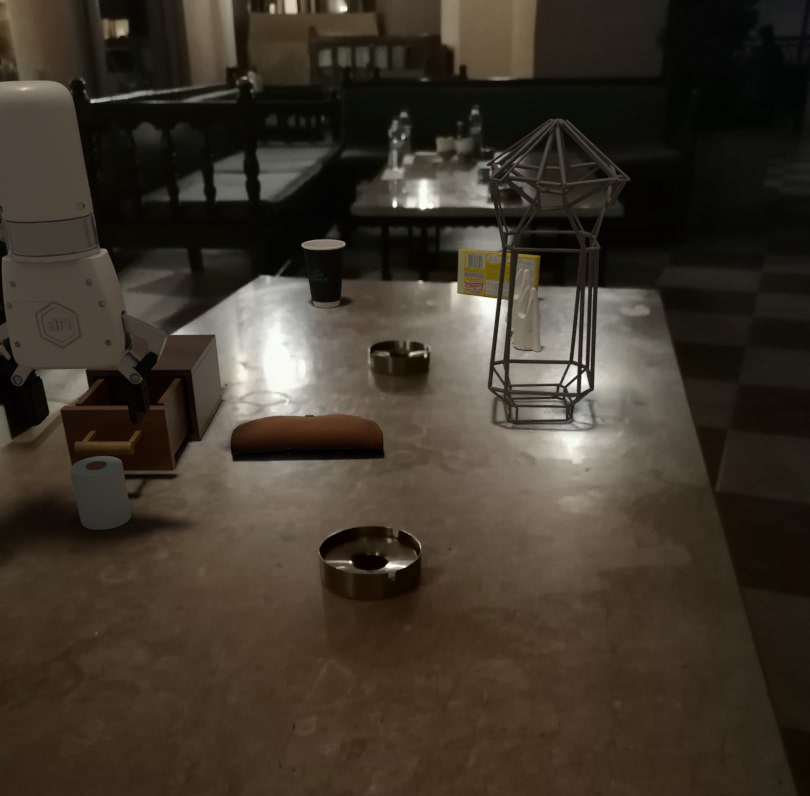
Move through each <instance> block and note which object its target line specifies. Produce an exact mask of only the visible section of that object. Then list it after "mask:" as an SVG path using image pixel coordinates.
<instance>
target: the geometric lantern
mask: <svg viewBox="0 0 810 796" xmlns="http://www.w3.org/2000/svg"><path fill="white" fill-rule="evenodd" d="M563 131H564V132H565V133H566V134H568V135H569V137H570V138H571V139H572V140H573V141H574V142H575V143H577V145H578V146H579V147H580V148H581V149H582V150H583V151H584V152H585V153H586V154H587V156H588V157H590V159H591V160H592V161H591V162H585V163H577V164H571V165H570V162H569V158H568V152H567V148H566V143H565V139H564V133H563ZM547 134H548V137H547V140H546V144H545V147H544V150H543V154H542V158H541V162H540V164H539V166H538V165H530V164H524V163H521V162H522V161H524V159H525V158H526V157H527V156H528V155H529V154H530V152H532V151H533V149H535V147H537V145H538V144H539V143H540V142H541V141H542V140H543V139H544V138H545V137H546V136H547ZM554 142H556V143H555V144H556V149H557V157H558V165H559V166H549V160H550V157H551V153H552V149H553V145H554ZM503 156H504V157H503ZM500 158H501V159H500ZM499 159H500V160H499ZM496 161H497V162H496ZM486 166H487V167H490V171H491V174H490V176H489V178H488V180H489V190H490V191H489V192H490V201H491V202H492V203H493V207H494V213H495V217H496V223H497V227H498V233H499V238H500V242H501V243H500V244H501V248H502V249H501V250H502V251H501V252H502V259H501V268H500V277H499V286H498V296H497V298H496V306H495V315H494V323H493V333H492V343H491V351H490V358H489V359H490V360H489V367H488V379H487V380H488V381H487V390H489V392H490V393H492V394H493V395H494V396H496V397H497V398H498V399H499V400H500V401H501V402H502V406H503V410H504V414H505V420H506V422H507V423H512V424H513V423H514V424H530V423H531V424H532V423H535V424H536V423H537V424H538V423H568V422H569V421H571V420H572V419H573V418H574V412H575V411H574V410H575V405H577V404H578V403H579V402H580V401H581V400H583V399H584V398H585V397H587V396H588V395H590V393H592V392H594V390H595V376H596V374H595V373H596V343H597V319H598V292H599V268H600V267H599V264H600V263H599V262H600V251H601V249H602V248H601V246H600V243H599V241H598V236H599V232H600V229H601V226H602V223H603V221H604V216H605V214H606V211H607V209H608V207H615V206H616V202H617V198H618V197H619V195H620V194H621V192H622V190H623V189H624V187H625V186H626V184H627V183H629V182H631V181H632V180H631V178H630V177H629V176H628V175H627V174H626V173H625V172H624V171H623V170H622V169H620V168H619V166H617V165H616V164H615V162H613V161H612V160H611V159H610V158H609V157H608V156H607V155H606V154H604V152H602V151H601V150H600V148H598V147H597V146H596V145H595V144H594V143H593V142H592V141H591V140H589V138H587V136H586V135H585V134H583V133H582V132H581V131H580V130H579V129H578V128H577V127H576V126H575V125H574V124H573V123H572V122H570V121H569V119H563V118H554V119H553V118H549V119H548V120H546V121H545V122H543V123H542V124H540V125H539V126H538V127H536V128H535V129H533V130H532V131H531V132H530V133H528V134H527V135H525V136H524V137H523V138H521V139H520V140H518V141H517V142H516V143H514V144H513V145H511V146H510V147H509V148H507V149H505V150H504V151H502V152H501V153H500V154H498V155H497V156H496V157H494V158H493V159H492V160H490V161H489V162H487V164H486ZM499 166H500V167H499ZM586 168H587V169H589V168H591V169H589V171H587V172H586V173H585V174H584V175H582V176H581V177H580V178H578V179H577V180H576V181H572V182H571V181H570V182H569V177H570V173H571V171H572V170H574V171H575V170H580V169H581V170H582V169H586ZM517 169H521V170H526V171H527V170H528V171H534V172H537V175H536V177H535V178H534V177H527V176H525V175H524V174H522V173H521V172H519V171H518V170H517ZM598 170H601V171H602V172H603V173H604V174H605V175H606V176H607V177H606V178H597V179H589V180H587V179H588V178H589V177H591V176H592V175H593V174H594V173H596V172H597V171H598ZM505 171H507V172H506V173H505V174H504V175H503V176H502V177H501V178H499V177H500V176H501V175H502V174H503V173H504V172H505ZM547 172H560V180H561V182H556V181H547V180H546V177H547ZM617 172H618V173H619V174H617ZM510 174H511V175H510ZM515 182H517V183H518V182H519V183H526V184H527V185H529V186H531V188H533V189H535V195H534V197H533V198H532V197H531V196H530V195H529V194H528V193H526V191H524V190H523V189H522V188H521V187H520V186H518V185H517V184H516V183H515ZM499 183H505V184H506V185H508V186H509V187H510V188H511V189H512V190H513V191H514V192H515V193H517V194H518V195H519V196H520V197H522V198H523V199H524V200H525V201H526V202H528V203H529V205H528V207H527V208H526V211H525V213H524V215H523V217H522V218H521V219H520V221H519V224H518V225H517V227H516V229H515V230H509V229H508V225H507V222H506V218H505V215H504V212H503V208H502V203H501V194H500V187H499ZM597 185H599V186H597ZM588 186H597V187H595V188H594V189H593V188H592V190H590V191H588V192H586V193H585V194H583V195H581V196H579V197H576V198H575V199H573V200H572V201H569V200H568V197H567V195H568V194H569V193H570V192H571V191H573V190H574V189H575V188H579V187H588ZM545 187H547V188H545ZM549 188H557V189H561V190H556V189H549ZM605 189H607V190H606V191H607V192H606V200H605V202H604V204H603V207H602V209H601V211H600V213H599V215H598V217H597V219H596V222H595V223H594V226H593V229H592V231H591V232H588V231H585V229H584V228H583V226H582V224H581V222H580V220H579V218H578V216H577V214H576V213H575V211H574V209H573V207H574V206H576V205H578V204H580V203H582V202H583V201H585V200H588V199H589V198H591V197H593V196H594V195H596V194H598V193H600V192H602V191H603V190H605ZM541 194H546V195H553V196H562V205H556V206H546V207H543V206H542V203H541V202H542V201H541ZM533 208H535V211H534V212H533V214H532V215H531V216H530V218H529V219H528V220H527V218H528V217H529V215H530V213H531V211H532V210H533ZM553 212H565V214H566V216H567V219H568V221H569V223H570V225H571V228H572V229H573V230H526V229H527V228H528V227H529V225H530V224H531V222H532V221H533V220H534V219H535V217H536V216H537V214H538V213H539V214H544V213H553ZM526 220H527V222H526ZM525 222H526V223H525ZM523 225H524V226H523ZM503 227H504V228H503ZM578 227H579V228H578ZM504 230H505V231H504ZM523 234H525V235H527V234H528V235H529V234H530V235H531V234H532V235H534V234H535V235H537V234H538V235H539V234H541V235H542V234H543V235H544V234H545V235H546V234H547V235H548V234H549V235H575V237H576V238H577V241H578V243H579V245H580V248H550V247H549V248H548V247H547V248H542V247H520V241H521V236H522V235H523ZM509 236H515V238H514V240H513V241H512V242H511V243H510V244H508V242H509V241H508V240H509ZM586 238H589V247H587V246H586ZM508 251H510V253H511V257H510V276H509V296H508V299H507V301H508V302H507V312H508V316H507V315H506V316H507V323H506V328H505V337H504V338H505V339H504V348H503V359H498V360H496V353H497V345H498V335H499V328H500V327H499V326H500V317H501V316H500V315H501V310H502V309H501V307H502V300H503V298H502V292H503V283H504V274H505V265H506V255H507V253H508ZM519 252H539V253H543V252H544V253H548V252H549V253H576V254H577V253H579V257H578V268H577V276H576V277H577V278H576V287H575V298H574V299H575V300H574V309H573V320H572V331H571V340H570V351H569V352H570V353H569V358H568V359H513V358H512V359H511V341H512V340H511V338H512V330H511V324H512V308H513V299H514V289H515V280H516V270H517V261H518V254H519ZM587 254H588V256H589V257H588V281H587V282H588V283H587V311H586V312H587V313H586V338H585V339H586V342H585V364H584V363H583V353H584V351H583V350H584V329H585V327H584V325H585V303H586V302H585V301H586V279H587V278H586V277H587V275H586V273H587ZM578 318H579V319H578ZM577 329H578V344H577V361H576V360H574V357H575V350H576V349H575V348H576V338H577ZM510 364H523V365H525V364H526V365H529V364H530V365H566V367H565V369H564V372H563V374H562V376H561V379H560V381H559V383H512V381H511V379H510ZM499 365H502V367H503V370H504V378H502V376H501V375H500V373H499V372H498V371H497V369H496V367H495V366H499ZM571 365H573V366H575V367H576V368H577V370H576V372H577V373H576V375H574V377H573V378H572V379H571V380H570V381H569V382H568V383H566V384H565V385H564V384H563V382H564V381H565V378H566V376H567V374H568V371H569V369H570V367H571ZM584 373H585V374H586V378H587V383H588V388H587V389H585V390H583V391H582V377H583V374H584ZM494 374H495V375H496V377H497V379H498V380H499V381H500V382H501V384H502V385H503V388H501V387H496V386H493V379H494ZM575 381H576V392H570V391H569V390H568V387H570V386H571V385H572V384H573V383H574V382H575ZM537 387H541V388H542V387H556V389H555V391H544V390H523V389H513V388H537ZM560 388H562V389H563V390H562V391H560ZM499 393H500V394H499ZM501 394H503V396H501ZM512 395H519V396H517V397H516V396H515V397H514V396H513V397H512ZM521 395H522V396H521ZM573 398H574V399H573ZM567 399H568V400H569V404H568V401H567ZM532 400H534V401H535V400H537V401H538V400H558V401H561V402H562V401H563V403H564V404H527V403H526V404H525V403H523V404H522V403H521V404H519V403H516V402H515V401H532ZM507 406H508V408H507ZM513 408H514V409H515V411H514V412H515V413H514V419H513V418H512V409H513ZM519 408H538V409H539V408H541V409H565V418H551V419H550V418H549V419H548V418H547V419H544V418H543V419H519Z"/></svg>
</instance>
